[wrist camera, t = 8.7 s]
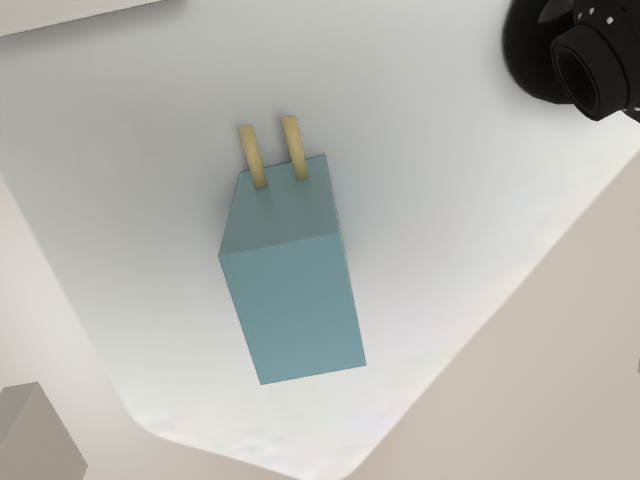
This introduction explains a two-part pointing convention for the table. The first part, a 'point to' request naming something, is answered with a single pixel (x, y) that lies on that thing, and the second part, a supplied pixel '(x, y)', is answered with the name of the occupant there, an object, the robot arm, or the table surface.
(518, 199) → the table surface
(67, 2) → the power strip
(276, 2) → the table surface
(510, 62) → the webcam
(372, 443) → the table surface
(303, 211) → the charger
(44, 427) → the robot arm
